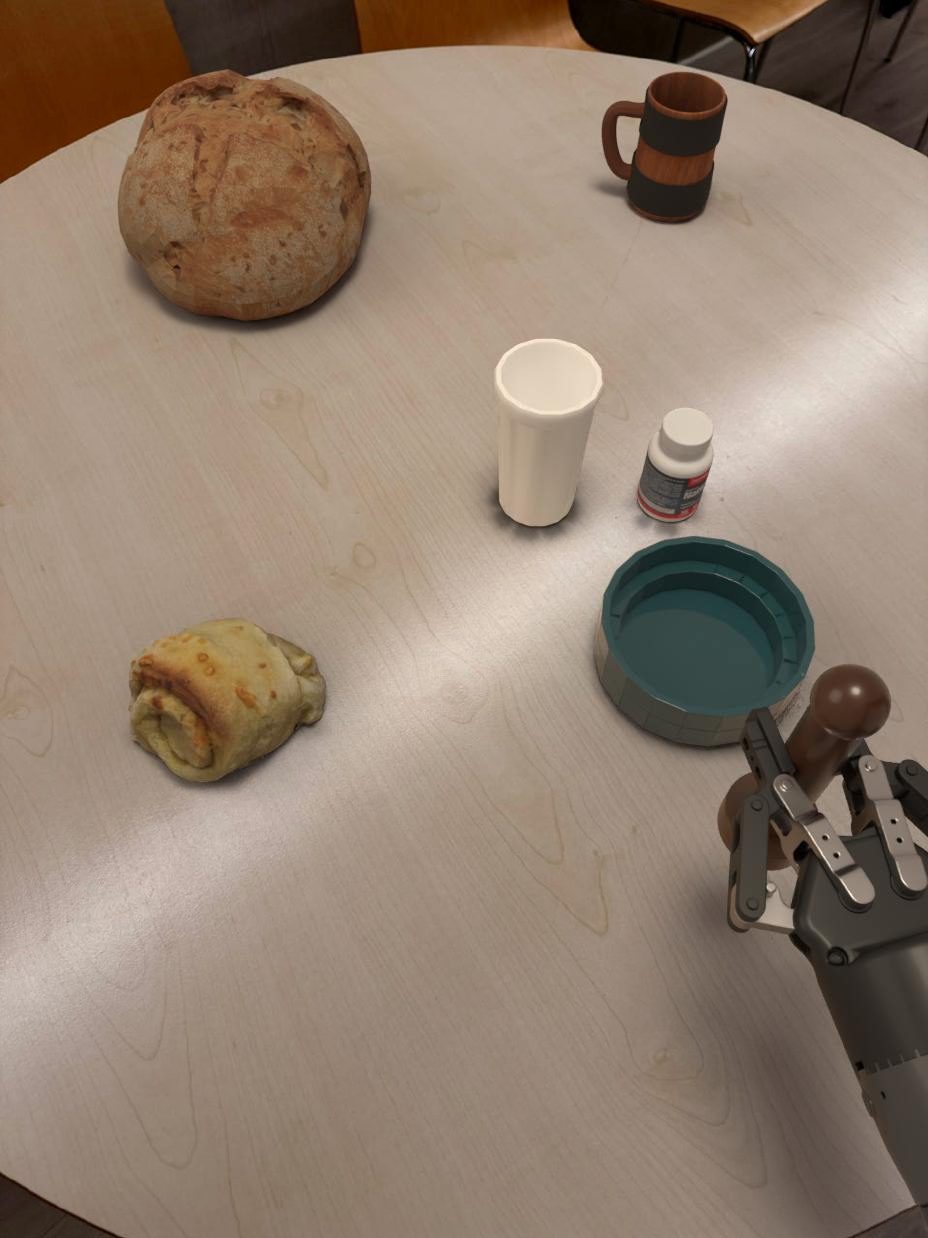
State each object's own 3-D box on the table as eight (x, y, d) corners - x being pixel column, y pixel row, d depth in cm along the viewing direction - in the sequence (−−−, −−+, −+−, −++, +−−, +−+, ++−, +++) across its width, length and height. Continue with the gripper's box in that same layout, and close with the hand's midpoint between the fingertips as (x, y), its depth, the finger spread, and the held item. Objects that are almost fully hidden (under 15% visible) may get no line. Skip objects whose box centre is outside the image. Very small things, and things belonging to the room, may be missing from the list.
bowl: (717, 551, 84) (732, 509, 79) (834, 697, 77) (858, 660, 72) (556, 622, 80) (563, 583, 75) (664, 784, 73) (679, 751, 68)
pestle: (772, 769, 60) (871, 615, 46) (828, 845, 58) (950, 706, 44) (699, 808, 59) (777, 660, 45) (752, 887, 56) (854, 758, 42)
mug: (596, 167, 111) (610, 60, 101) (707, 178, 110) (732, 71, 100) (589, 217, 107) (603, 110, 97) (705, 229, 106) (732, 122, 96)
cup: (524, 553, 84) (536, 433, 71) (469, 488, 87) (471, 363, 75) (602, 511, 86) (627, 387, 74) (546, 449, 90) (560, 322, 77)
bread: (336, 346, 96) (319, 206, 83) (98, 317, 98) (45, 176, 85) (391, 175, 110) (384, 33, 97) (181, 152, 112) (147, 10, 99)
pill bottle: (682, 533, 85) (704, 462, 77) (625, 506, 86) (642, 434, 79) (708, 491, 87) (733, 418, 80) (653, 466, 89) (672, 392, 81)
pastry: (109, 776, 73) (74, 726, 66) (161, 628, 79) (134, 569, 73) (304, 802, 72) (288, 754, 65) (340, 650, 78) (329, 592, 72)
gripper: (1146, 1002, 41) (940, 642, 50) (821, 1091, 39) (668, 700, 48) (1053, 1039, 47) (885, 713, 56) (770, 1117, 45) (643, 767, 54)
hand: (786, 709), depth 52 cm, fingers closed on pestle, 3 cm apart
